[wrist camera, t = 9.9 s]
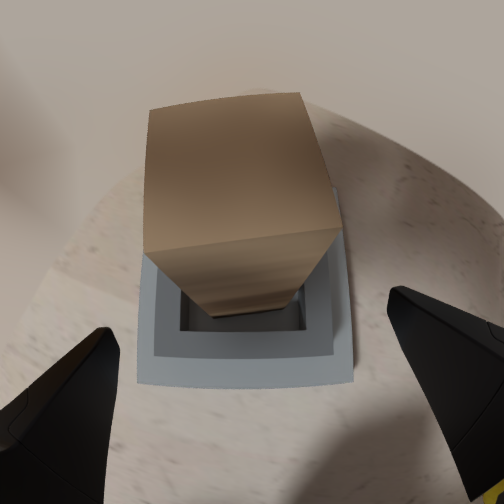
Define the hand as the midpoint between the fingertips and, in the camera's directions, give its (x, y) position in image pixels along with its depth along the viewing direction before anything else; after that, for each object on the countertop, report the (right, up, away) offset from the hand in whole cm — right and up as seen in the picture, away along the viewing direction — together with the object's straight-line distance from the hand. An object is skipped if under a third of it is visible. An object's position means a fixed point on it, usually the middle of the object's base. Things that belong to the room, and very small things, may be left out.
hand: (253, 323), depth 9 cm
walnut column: (-1, 0, +11) cm, 11 cm away
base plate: (-1, 0, +12) cm, 12 cm away
